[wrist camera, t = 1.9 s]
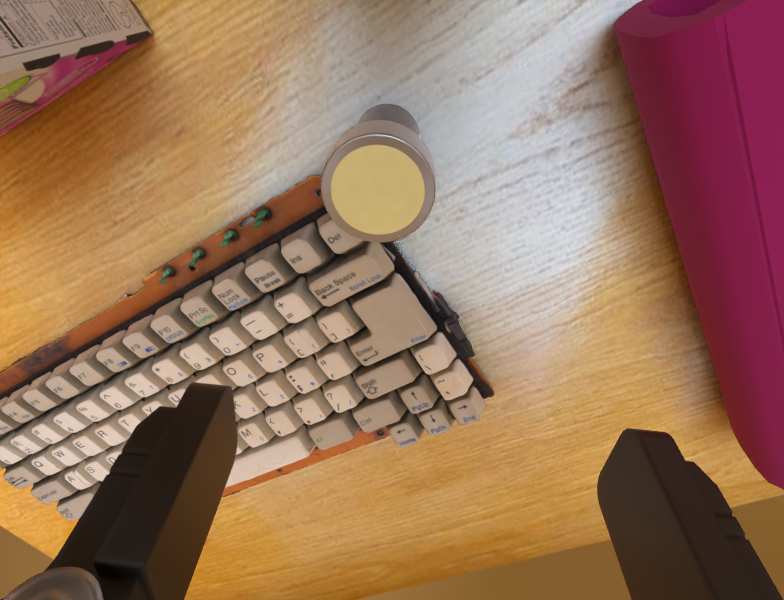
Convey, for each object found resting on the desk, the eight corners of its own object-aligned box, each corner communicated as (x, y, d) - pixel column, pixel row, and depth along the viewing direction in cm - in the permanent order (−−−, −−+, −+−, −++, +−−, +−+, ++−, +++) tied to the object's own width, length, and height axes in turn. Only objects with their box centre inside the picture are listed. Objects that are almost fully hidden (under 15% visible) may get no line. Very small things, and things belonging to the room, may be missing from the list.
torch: (330, 152, 26) (301, 211, 20) (369, 72, 24) (352, 110, 17) (403, 192, 27) (398, 261, 21) (447, 120, 25) (458, 172, 18)
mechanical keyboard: (134, 531, 46) (116, 567, 44) (-56, 403, 38) (-94, 438, 35) (504, 381, 34) (512, 418, 31) (347, 144, 26) (338, 165, 23)
